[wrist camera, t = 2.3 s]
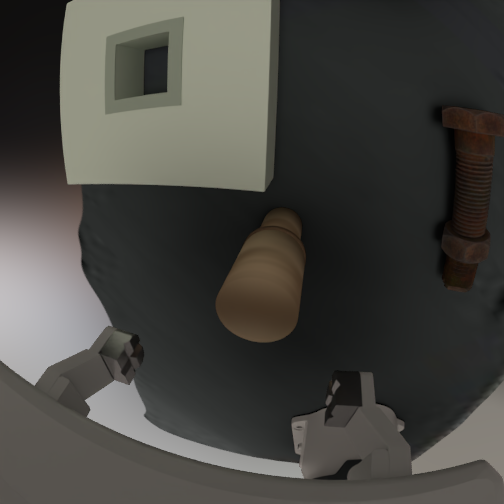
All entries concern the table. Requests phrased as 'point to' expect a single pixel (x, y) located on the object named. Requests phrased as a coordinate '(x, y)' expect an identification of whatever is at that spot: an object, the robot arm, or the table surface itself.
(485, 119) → the bolt
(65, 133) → the board
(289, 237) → the peg
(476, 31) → the table surface
